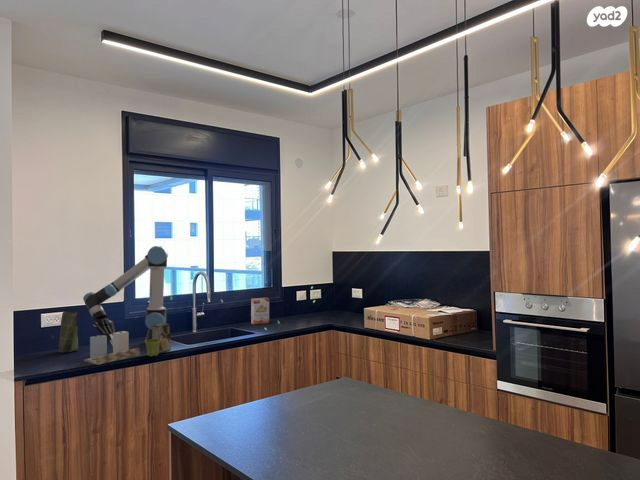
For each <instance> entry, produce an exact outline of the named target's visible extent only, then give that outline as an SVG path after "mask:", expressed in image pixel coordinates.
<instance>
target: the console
mask: <svg viewBox="0 0 640 480" xmlns="http://www.w3.org/2000/svg"><path fill="white" fill-rule="evenodd" d="M140 353H141V351H140V348H139V347H136V348H132V349H129V350H127V351H122V352H118V353H113V352H112V353H107V355H104V356H99V357H97V359H91V358H86V359H83V362H84V363H89V364H93V365H98V366H99V365H102V364H108V363H113V362H115V361H120V360H125V359H129V358H134V357H137V356H141V355H140Z"/></svg>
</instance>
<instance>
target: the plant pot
mask: <svg viewBox="0 0 640 480" xmlns="http://www.w3.org/2000/svg"><path fill="white" fill-rule="evenodd" d="M160 341H161V339H150V340H146V339H145V340H144V344H145V347H146V348H145V349H146V355H147V356H148V357H153V356H155V357H156V356H158V355H159V354H160V353H159V346H160Z"/></svg>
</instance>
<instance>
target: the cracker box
mask: <svg viewBox="0 0 640 480" xmlns="http://www.w3.org/2000/svg"><path fill="white" fill-rule="evenodd" d="M250 303H251V304H250V305H251V306H250V309H251V310H250V320H251V321H250V322H251V325H264V324H265V325H266V324H270V298H269V297H257V298H251V299H250Z"/></svg>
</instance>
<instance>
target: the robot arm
mask: <svg viewBox="0 0 640 480" xmlns="http://www.w3.org/2000/svg"><path fill="white" fill-rule="evenodd" d="M168 257H169V253H168V250H167V248H165V247H164V246H161V245H154V246H152V247H150V249H149V250H148V251H147V254H145V256H144V258H143V259H141V260H140V261H139V262H138V263H136V264H134V265H133V266H132V267H131V268H130V269H128V270H127V271H126V272H124V273H122V274H121V275H120V276H119V277H118V278H116V279H115V280H113V281H112V282H111V283H109V284H108V285H107V284H106V286H104V287H103V288H101V289H99V290H98V291H97V292H92V291H91V292H87V293H86V294H85V295H84V296H82V297H83V298H82V299H83V303H84V304H85V306H86V308H87V309H88V312H89V313H90V315H91V317H92V320H93V321H94V323H93V325H92V327H93V328H94V329H96V331H97V332H98V333H99V334H100V335H105V336H107V341H108V342H110V344H111V346H112V347H113V333H116V329H115V326H114V320H113V319H112V320H110V319H109V318H108V316H107V314H106V312H105V310H104V308H103V306H102V303H104V302H106V301H107V300H109V299H110V298H112V297H114V296H116V295H117V294H118V293H119V292H120V291H122V290H123V289H124V288H126V287H127V286H128V285H130V284H131V283H133V282H134V281H135V280H137V279H138V278H139V277H141V276H142V275H143V274H145V273H146V272H147V271H149V293H148V294H149V297H148V306H147V308H146V311H145V319H144V323H145V326H146V327H147V333H146V337H145V340H150V339H152V326H154V325H159V324H167V312H168V311H167V307H164V288H165V287H164V285H165V269H166V268H167V267H168V265H167V264H168Z"/></svg>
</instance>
